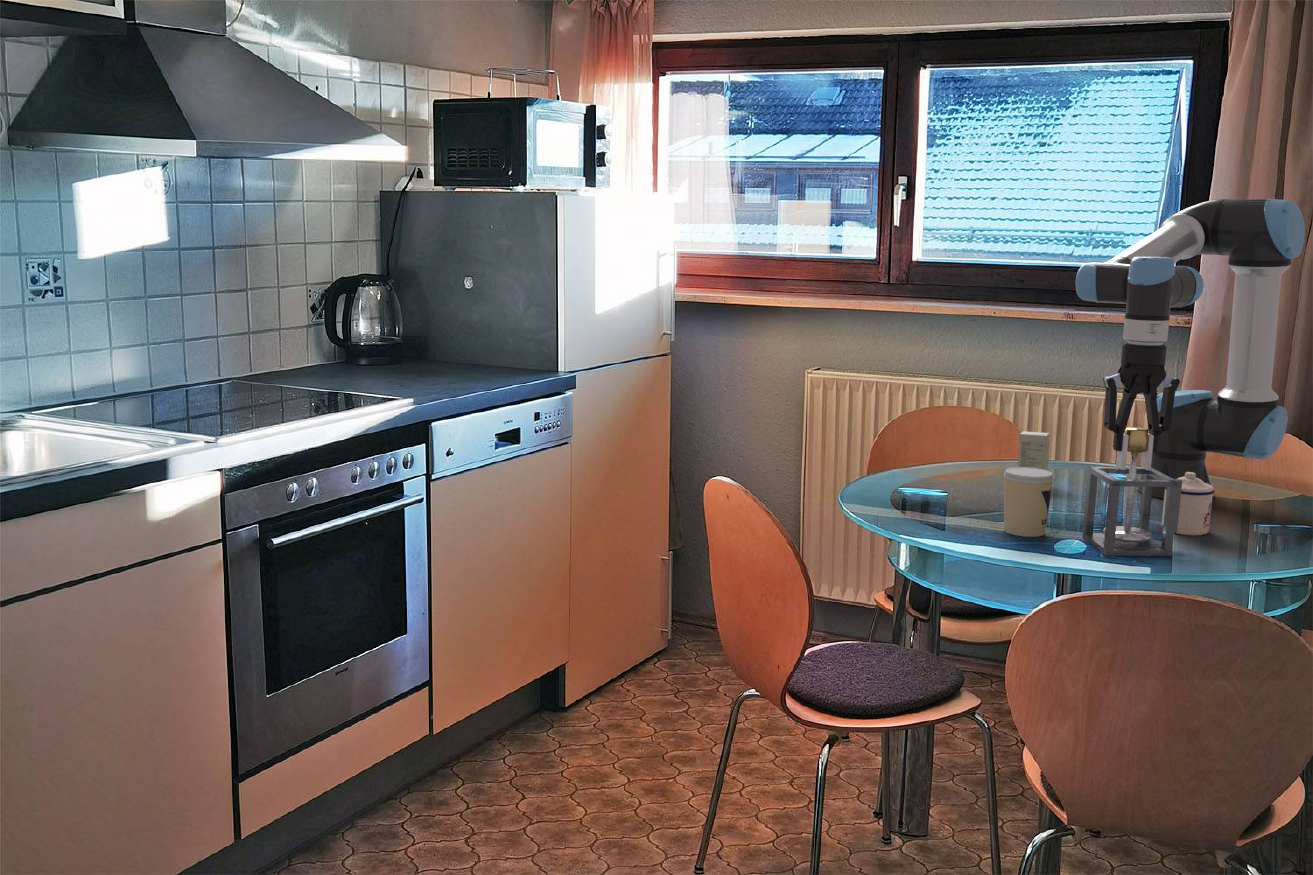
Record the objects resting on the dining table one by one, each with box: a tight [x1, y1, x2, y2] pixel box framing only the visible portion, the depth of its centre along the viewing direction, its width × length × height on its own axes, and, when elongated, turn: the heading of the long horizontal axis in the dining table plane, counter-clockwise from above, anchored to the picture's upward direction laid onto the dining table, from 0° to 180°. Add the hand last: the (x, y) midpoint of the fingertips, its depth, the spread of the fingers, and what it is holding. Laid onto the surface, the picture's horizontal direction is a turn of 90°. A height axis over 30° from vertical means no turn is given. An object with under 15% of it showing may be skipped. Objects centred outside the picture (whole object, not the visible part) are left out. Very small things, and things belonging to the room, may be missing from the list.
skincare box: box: [1017, 430, 1051, 471], centre depth 272 cm, size 6×4×12 cm
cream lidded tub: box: [1003, 466, 1055, 538], centre depth 233 cm, size 9×9×12 cm
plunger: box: [1102, 426, 1152, 542], centre depth 222 cm, size 8×8×20 cm
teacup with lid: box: [1161, 472, 1215, 536], centre depth 237 cm, size 12×9×12 cm
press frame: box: [1082, 466, 1182, 557], centre depth 223 cm, size 15×12×14 cm
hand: (1133, 468), depth 222 cm, fingers closed on plunger, 4 cm apart
